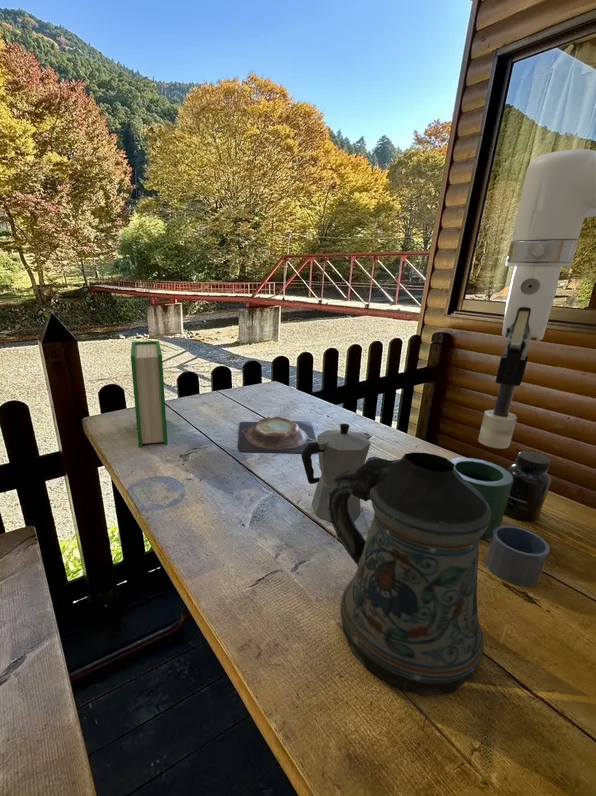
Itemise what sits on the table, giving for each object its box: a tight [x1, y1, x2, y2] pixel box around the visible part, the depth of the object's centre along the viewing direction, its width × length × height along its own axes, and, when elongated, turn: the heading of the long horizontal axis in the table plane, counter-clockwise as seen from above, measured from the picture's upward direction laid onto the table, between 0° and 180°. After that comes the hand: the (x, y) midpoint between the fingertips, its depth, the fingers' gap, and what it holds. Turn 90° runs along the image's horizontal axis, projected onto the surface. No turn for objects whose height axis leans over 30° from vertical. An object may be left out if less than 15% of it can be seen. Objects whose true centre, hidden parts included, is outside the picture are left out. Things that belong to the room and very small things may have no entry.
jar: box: [448, 457, 513, 540], centre depth 73 cm, size 10×10×11 cm
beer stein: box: [328, 452, 491, 697], centre depth 49 cm, size 16×19×25 cm
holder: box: [485, 525, 551, 587], centre depth 63 cm, size 7×7×6 cm
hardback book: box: [130, 340, 168, 448], centre depth 110 cm, size 18×7×24 cm, turn 11°
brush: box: [477, 384, 518, 450], centre depth 64 cm, size 4×4×16 cm
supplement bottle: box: [503, 451, 552, 523], centre depth 76 cm, size 7×7×12 cm
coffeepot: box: [301, 423, 373, 523], centre depth 76 cm, size 15×9×18 cm, turn 115°
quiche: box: [237, 416, 317, 454], centre depth 111 cm, size 21×20×4 cm
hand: (508, 381), depth 64 cm, fingers closed on brush, 2 cm apart
